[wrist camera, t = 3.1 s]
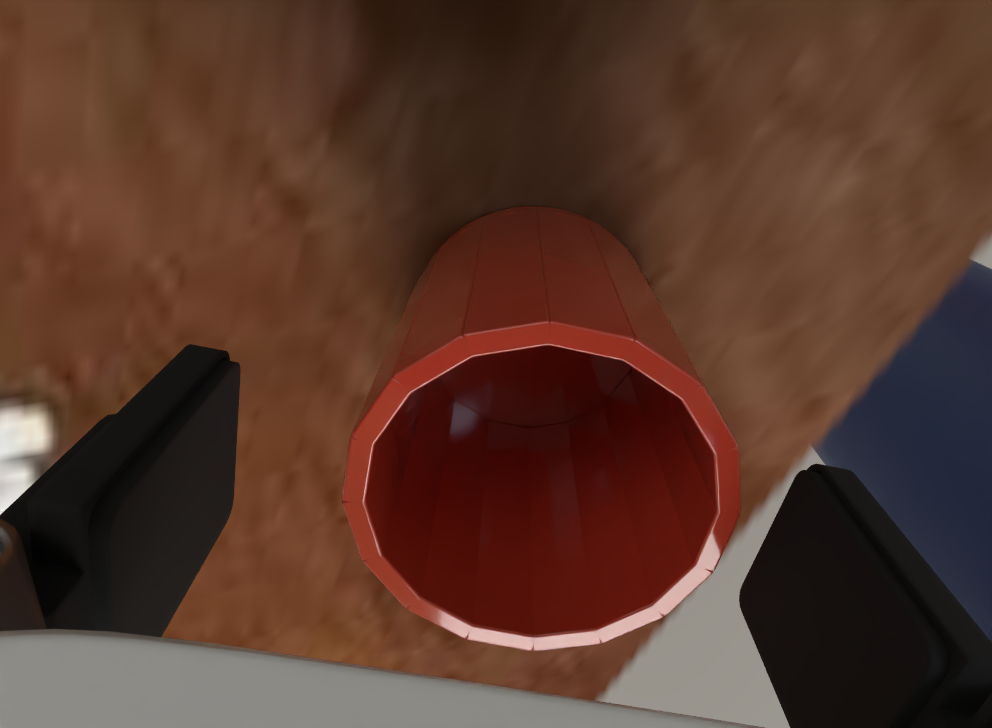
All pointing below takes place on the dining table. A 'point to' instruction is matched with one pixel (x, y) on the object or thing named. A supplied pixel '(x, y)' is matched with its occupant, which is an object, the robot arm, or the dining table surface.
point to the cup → (539, 443)
